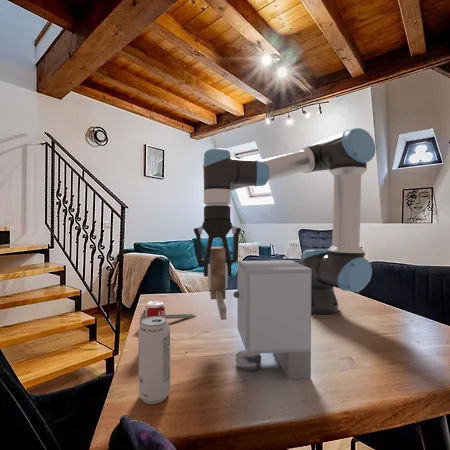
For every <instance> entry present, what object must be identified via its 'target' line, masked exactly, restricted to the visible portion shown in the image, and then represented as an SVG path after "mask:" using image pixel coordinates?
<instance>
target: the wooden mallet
mask: <svg viewBox="0 0 450 450" xmlns="http://www.w3.org/2000/svg"><path fill="white" fill-rule="evenodd" d="M209 264H210V265H211V289H209V290H210V291H209V296H210V300H215V301H216V305H217V309H218V314H219V317H220V320H221V321H224V320H225V321H226V320H227V306H226V303H225V300H226V289H225V264H226V257H225V248H224V247H223V246H212V247H211V252H210V257H209Z"/></svg>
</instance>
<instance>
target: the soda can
mask: <svg viewBox="0 0 450 450" xmlns="http://www.w3.org/2000/svg"><path fill="white" fill-rule="evenodd" d="M144 310H145V311H146V318H148V317H153V316H161V317H165V314H166V306H165V302H164V301H162V300H152V301H149V302H147V303H146V307H145V308H144Z"/></svg>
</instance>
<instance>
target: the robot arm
mask: <svg viewBox="0 0 450 450" xmlns="http://www.w3.org/2000/svg"><path fill="white" fill-rule="evenodd" d="M375 154H376V143H375V140H374V138H373V137H372V135H371V134H370V133H369V132H368V131H367V130H366V129H363V128H361V127H356V128H351V129H347V130H345V131H343V132H340V133H337V134H334V135H333V136H332V135H331V136H330V137H326V138H324V139H322V140H320V141H318V142H316V143H314V144H311V145H308V146H304V147H302V148H300V149H299V150H298V151H295V152H292V153H291V152H290V153H287V154H281V155H277V156H273V157H269V158H268V157H267V158H265V159H260V160H258V159H240V158H239V159H238V158H232V156H231V152H230V151H229V150H228V149H225V148H217V147H216V148H209V149H208V150H206V151H205V152H204V155H203V166H202V168H203V204H204V205H205V206H204V207H203V222H202V225H201V226H199V227H195V228H193V232H194V235H195V238H196V240H195V241H196V259H197V261H196V262H197V263H198V264H200V265H202V266H203V276H204V277H205V278H206V277H207V290H210V289H211V265H210V252H211V247H213V242H214V241H213V240H214V239H217V238H219V239H221V242H222V247H224V248H225V290H226V289H228V287H229V286H228V279H229V278H228V277H231V276H232V265H233V264H235V263H236V264H237V262H238V263H239V237H240V234H241V231H242V228H240V227H237V226H234V225H233V223H232V221H231V207H230V206H229V205H230V204H231V191H234V190H237V189H242V188H243V189H244V188H247V187H264V186H265V185H266V184H268V181H272V180H276V179H279V178H283V177H287V176H290V175H295V174H298V173H305V174H309V173H314V172H321V171H329V173H330V174H331V175H332V176H333V201H332V202H333V207H332V208H333V210H332V242H331V243H332V244H331V246H329V248H322V249H306V250H304V251H303V252H302V257H301V265H304V266H306V267H308V268H310V269H311V314H317V315H331V314H335V313H337V312H339V302H338V299H337V297H336V293H335V288H337V289H340V290H342V291H344V292H347V291H348V292H352V293H358V292H360V291H362V290H364V289H365V288H366V286H367V285H368V284H369V282H370V281H371V278H372V274H373V268H372V264H370V261H369V260H368V259H366V258H365V251H364V250H363V249H362V248H361V246H360V237H361V236H360V234H361V199H362V198H361V197H362V195H361V194H362V175H363V174H365V172H366V171H367V169H368V167H367V165H368V164H367V163H369V162H370V161H372V160H373V158H374V157H375ZM203 230H204V232H205V233H206V235H207V236H208V239H207V244H206V249H205V254H204V258H202V241H201V240H202V239H201V238H202V236H201V235H202V234H203ZM230 231H231V232H232V234H233V238H232V257H231V253H230V249H229V245H228V239H227V238H228V237H227V235H228V234H229V233H230Z"/></svg>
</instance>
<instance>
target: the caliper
mask: <svg viewBox="0 0 450 450" xmlns="http://www.w3.org/2000/svg"><path fill="white" fill-rule="evenodd" d="M193 317H197V316H196V314H193V313H192V312H191V313H190V312H189V313H188V312H187V313H186V312H185V313H183V312H182V313H165V318H166V319H167V320H173V319H174V320H176V319H191V318H193ZM145 318H146V310H145V309H143V312H141V314H140V318H139V327H140V326H141V324H142V320H143V319H145Z"/></svg>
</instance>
